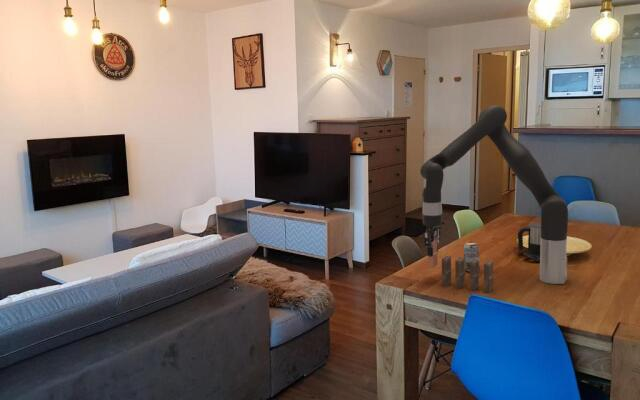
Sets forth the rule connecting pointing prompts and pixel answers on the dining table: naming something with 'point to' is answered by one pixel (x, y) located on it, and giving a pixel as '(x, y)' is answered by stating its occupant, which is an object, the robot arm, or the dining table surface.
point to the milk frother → (531, 240)
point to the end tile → (433, 260)
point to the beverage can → (470, 254)
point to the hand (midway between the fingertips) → (432, 254)
